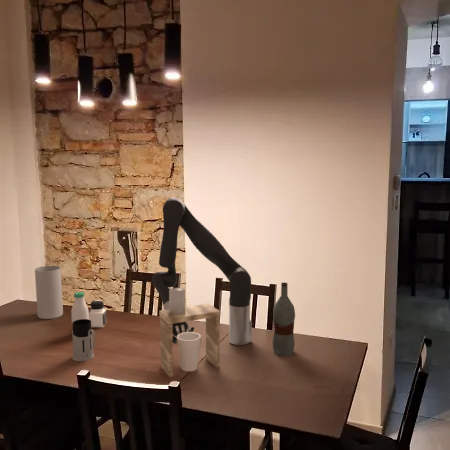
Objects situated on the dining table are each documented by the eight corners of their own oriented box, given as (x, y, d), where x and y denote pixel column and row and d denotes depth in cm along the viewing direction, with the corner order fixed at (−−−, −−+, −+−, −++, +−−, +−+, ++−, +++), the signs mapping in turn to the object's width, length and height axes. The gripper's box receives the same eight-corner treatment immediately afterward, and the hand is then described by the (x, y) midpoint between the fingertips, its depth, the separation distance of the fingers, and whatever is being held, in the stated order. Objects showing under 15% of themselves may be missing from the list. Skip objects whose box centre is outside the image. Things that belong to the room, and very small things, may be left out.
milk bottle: (93, 333, 237) (91, 292, 234) (80, 339, 231) (78, 296, 228) (81, 330, 241) (79, 289, 239) (68, 335, 235) (66, 293, 232)
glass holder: (87, 351, 217) (85, 317, 215) (105, 360, 207) (103, 325, 205) (68, 356, 211) (66, 322, 209) (85, 367, 201) (84, 330, 199)
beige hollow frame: (208, 357, 210) (208, 303, 207) (220, 367, 200) (219, 311, 197) (160, 366, 201) (159, 310, 198) (170, 377, 191) (169, 319, 188)
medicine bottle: (103, 327, 246) (102, 303, 244) (88, 327, 246) (87, 303, 244) (107, 322, 253) (106, 299, 251) (92, 322, 253) (91, 299, 251)
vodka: (267, 352, 215) (268, 283, 211) (280, 346, 222) (281, 279, 217) (286, 358, 209) (287, 287, 205) (298, 352, 216) (300, 283, 211)
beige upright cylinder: (181, 309, 199) (181, 287, 198) (187, 313, 194) (187, 290, 193) (167, 311, 197) (166, 289, 195) (172, 316, 191) (172, 292, 190)
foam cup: (197, 374, 195) (197, 341, 193) (174, 371, 197) (173, 339, 195) (203, 364, 204) (203, 332, 202) (181, 362, 206) (181, 331, 204)
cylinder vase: (32, 319, 258) (29, 270, 255) (45, 311, 271) (42, 265, 267) (55, 320, 256) (53, 271, 253) (67, 312, 268) (65, 266, 265)
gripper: (161, 311, 208) (171, 350, 199) (191, 306, 213) (202, 344, 204) (157, 319, 213) (167, 358, 204) (186, 315, 219) (197, 352, 210)
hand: (184, 351), depth 204 cm, fingers closed
